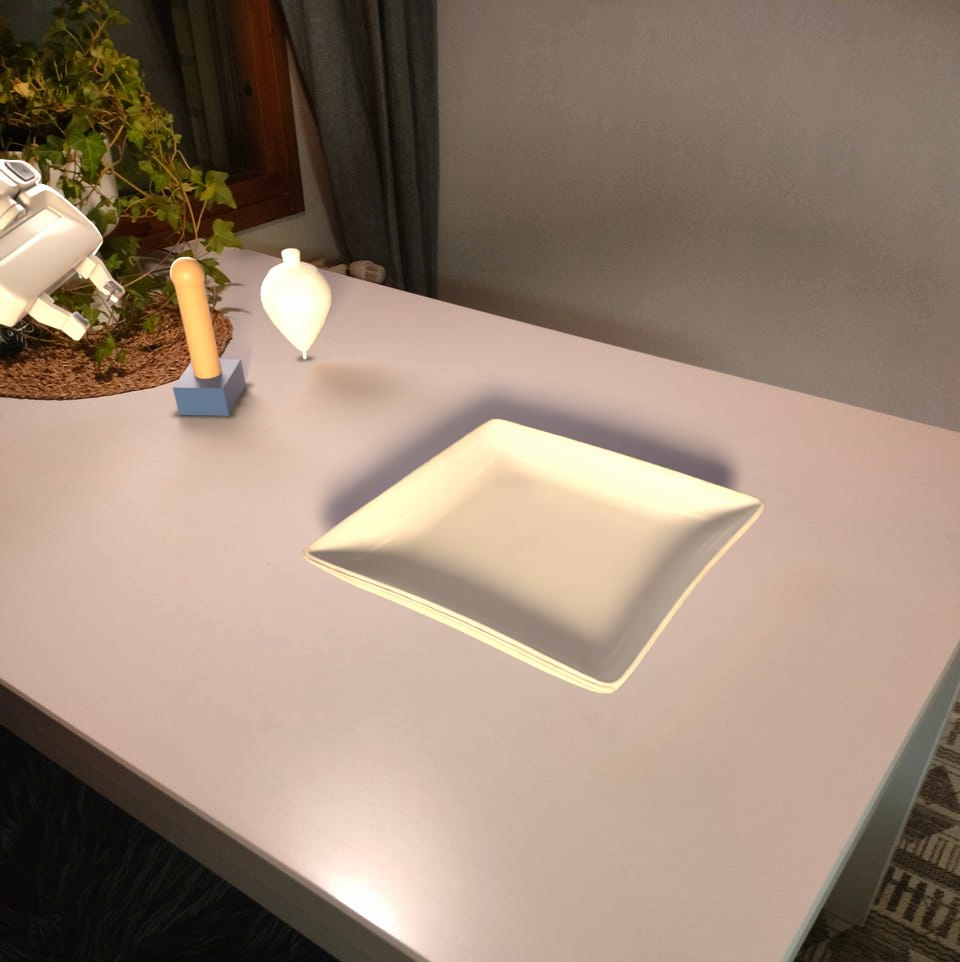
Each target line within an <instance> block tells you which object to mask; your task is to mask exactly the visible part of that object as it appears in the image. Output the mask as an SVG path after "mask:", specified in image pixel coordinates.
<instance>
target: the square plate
mask: <svg viewBox="0 0 960 962" xmlns="http://www.w3.org/2000/svg"><path fill="white" fill-rule="evenodd" d="M765 507H766V504H765V502H764V500H763V499H761V498H758V497H756V496H753V495H751V494H747V493H744V492H741V491H737V490H734V489H732V488H728V487H725V486H722V485H719V484H717V483H714V482H710V481H707V480H704V479H701V478H698V477H695V476H693V475H689V474H686V473H683V472H680V471H677V470H675V469H672V468H668V467H665V466H662V465H658V464H655V463H652V462H649V461H646V460H642V459H639V458H637V457H633V456H630V455H627V454H624V453H620V452H616V451H613V450H610V449H607V448H605V447H600V446H598V445H597V446H596V445H594V444H590V443H587V442H583V441H580V440H577V439H573V438H570V437H567V436H563V435H559V434H555V433H552V432H548V431H546V430H541V429H538V428H534V427H532V426H527V425H524V424H521V423H517V422H514V421H510V420H506V419H504V418H503V419H502V418H496V417H495V418H491V419H487V421H485V422H483V423H482V424H480V425H479V426H477V427H476V428H473V430H471V431H470V432H468V433H466V434H464V435H463V436H462V437H461V438H459V439H458V440H455V442H453V443H452V444H450V445H449V446H447V447H446V448H444V449H443V450H441V451H440V452H438V453H437V454H436V455H434V456H433V457H431V458H429V459H428V460H427V461H426V462H424V463H422V464H421V465H420V466H418V467H417V468H414V470H412V471H411V472H410V473H408V474H406V475H405V476H404V477H402V478H401V479H399V480H398V481H397V482H395V483H393V484H392V485H391V486H390V487H388V488H387V489H385V490H383V491H382V492H381V493H380V494H378V495H377V496H375V497H374V498H372V499H370V501H368V502H367V503H365V504H363V505H362V506H361V507H360V508H358V509H357V510H356V511H354V512H352V513H351V514H350V515H348V516H347V517H346V518H344V519H343V520H341V521H340V522H338V523H337V524H335V525H334V526H333V527H332V528H330V529H329V530H327V531H326V532H324V533H323V534H322V535H321V536H319V537H318V538H316V539H315V540H314V541H313V542H311V543H310V544H309V545H308V546H306V547H305V548H303V550H302V552H301V556H302V557H303V558H304V560H306V561H307V562H309V563H311V564H312V565H314V566H315V567H317V568H318V569H321V570H323V571H324V572H326V573H328V574H330V575H332V576H334V577H335V578H338V579H340V580H342V581H344V582H346V583H349V584H351V585H352V586H355V587H357V588H359V589H362V590H364V591H367V592H369V593H372V594H374V595H377V596H380V597H381V598H384V599H386V600H389V601H392V602H394V603H397V604H399V605H401V606H403V607H405V608H407V609H411V610H412V611H415V612H417V613H419V614H421V615H423V616H426V617H429V618H430V619H433V620H435V621H437V622H439V623H441V624H444V625H446V626H449V627H451V628H453V629H455V630H457V631H460V632H462V633H463V634H466V635H467V636H468V635H469V636H470V637H472V638H474V639H476V640H478V641H480V642H482V643H484V644H487V645H489V646H491V647H493V648H495V649H497V650H498V651H501V652H503V653H505V654H508V655H510V656H511V657H514V658H515V659H518V660H520V661H522V662H524V663H526V664H528V665H529V666H532V667H534V668H536V669H537V670H540V671H542V672H544V673H547V674H550V675H552V676H554V677H556V678H557V679H558V678H559V679H561V680H563V681H565V682H568V683H570V684H573V685H575V686H578V687H581V688H583V689H585V690H588V691H591V692H595V693H599V694H613V693H615V692H616V691H617V690H618V689H619V688H620V687H621V686H622V685H624V683H625V682H626V681H627V680H628V679H629V677H630V676H631V675H632V673H633V672H634V671H635V670H636V669H637V667H638V665H640V663H641V661H642V660H643V659H644V657H645V656H646V654H647V653H649V651H650V649H651V648H652V647H653V645H654V643H655V642H656V640H657V639H658V637H659V636H660V635H661V633H662V632H663V630H664V629H665V628H666V627H667V625H668V623H670V621H671V619H672V618H673V617H674V616H675V614H676V613H677V612H678V610H679V609H680V607H682V605H683V604H684V602H685V601H686V600H687V599H688V597H689V596H690V595H691V593H692V592H693V591H694V590H695V588H696V587H697V586H698V584H699V583H700V582H701V581H702V580H703V578H704V577H705V576H706V575H707V574H708V572H709V571H710V570H711V569H712V568H713V567H714V566H715V565H716V564H717V562H719V560H720V559H721V558H722V557H723V556H724V555H725V554H726V553H727V552H728V551H729V549H730V548H732V547H733V546H734V544H735V543H736V542H737V541H738V540H739V539H740V538H741V537H742V536H743V535H744V534H745V533H746V532H747V531H748V530H749V529H750V528H751V526H752V525H753V524H755V522H756V521H757V520H758V518H759V517H760V516H761V515H762V514H763V512H764V509H765Z"/></svg>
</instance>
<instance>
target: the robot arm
mask: <svg viewBox="0 0 960 962" xmlns="http://www.w3.org/2000/svg"><path fill="white" fill-rule="evenodd" d="M40 180H41V174H40V173H39V172H38V170H36V169H35V167H33V166H32V165H31V164H29V163H28V162H26V161H24V160H13V159H12V160H10V159H0V325H3V326H6V327H9V328H12V327H14V326H16V324H18V323H19V322H20V321H21V320H23V318H25V317H26V316H27V315H29V316H30V317H32V318H33V319H34V320H35V321H37V322H38V323H41V324H43V325H46V326H48V327H52V328H54V329H57V330H61V331H62V332H63V333H65V334H66V335H67V336H68V337H70V338H71V339H72V340H74V341H80V340H81V339H82V338H83V337H84V336H85V335H86V333H87V332H88V331H89V329H90V328H91V323H90V321H89V320H88V319H86V318H84V317H83V315H82V314H80V313H79V312H78V311H75V312H73V313H72V312H70V311H69V310H66V309H64V308H63V307H60V306H58V305H57V304H55V302H56V301H55V299H53V297H51V296H50V295H51V294H53V293H54V292H55V291H56V290H57V289H59V288H60V287H61V286H62V285H63V284H65V283H66V282H67V281H68V280H69V279H70V278H71V277H73V276H74V275H76V274H77V273H78V275H80V276H82V277H83V278H84V279H86V280H88V279H89V280H90V281H91V283H92V284H93V285H94V286H95V287H96V288H97V290H98V291H99V292H98V293H97V294H98V296H99V297H100V298H101V299H103V300H104V301H106V302H107V304H109V305H112V306H114V305H116V304H117V303H118V302H119V301H120V300H121V299H122V297H123V296H124V294H125V293H126V290H125V288H124V286H123V285H122V284H120V283H119V282H118V281H117V280H115V279H114V277H113V276H112V274H111V273H110V271H109V269H108V268H107V267H106V265H105V264H104V262H103V260H102V259H100V258H99V257H98V256H97V255H95V254H96V253H97V252H98V250H99V249H100V247H101V245H102V244H103V242H104V239H103V236H102V235H101V233H100V231H99V230H98V228H97V227H96V226H95V224H94V223H93V222H92V221H90V219H88V218H87V217H86V216H85V215H84V214H83V213H82V212H81V211H80V210H79V209H78V208H77V207H75V206H74V205H73V204H72V203H71V202H70V201H68V199H66V198H65V197H64V196H63V195H61V194H60V193H59V192H58V191H56V190H55V189H53V188H52V187H51V186H48V185H46V184H43V183H39V181H40Z"/></svg>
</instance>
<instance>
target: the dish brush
mask: <svg viewBox="0 0 960 962" xmlns="http://www.w3.org/2000/svg"><path fill="white" fill-rule="evenodd" d="M169 277H170V279H171V280H170V281H171V282H172V283H173V285H174V289H175V294H176V299H177V303H178V307H179V308H178V309H179V312H180V317H181V321H182V326H183V330H184V334H185V335H184V336H185V339H186V344H187V349H188V353H189V359H190V362H189V364H188V366H187V367H186V369H185V370H184V372H183V373H182V374H181V376H180V377H179V379H178V380H177V381H176V383H175V384H174V386H173V387H172V389H173V390H172V391H173V394H174V398H175V403H176V406H177V407H176V408H177V410H178V415H179V416H214V417H215V416H217V417H219V416H222V417H223V416H224V417H229V416H230V414H231V413H232V411H233V409H234V408H235V405H236V404H237V403H238V401H239V399H240V397H241V395H242V393H243V391H244V390H245V388H246V386H247V384H246V379H245V374H244V367H243V362H242V359H241V358H237V359H236V358H220V356H219V351H218V346H217V341H216V336H215V335H216V334H215V331H214V325H213V321H212V315H211V310H210V305H209V300H208V295H207V291H206V284H205V279H206V274H205V270H204V268H203V266H202V265H201V263H199V261H197V259H195V258H192V257H190V256H182V257H179V258H177V259H176V260H174V261H173V263H172V264H171V266H170V270H169Z"/></svg>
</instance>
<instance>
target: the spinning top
mask: <svg viewBox="0 0 960 962" xmlns="http://www.w3.org/2000/svg"><path fill="white" fill-rule="evenodd" d="M281 257H282V260H283V262H281V263H279V264H277V265H275V266H273V267H272V268H271V269H269V271H268V273H267V275H266V276H265V278H264V279H263V282H262V285H261V288H260V299H261V300H260V301H261V304H262V307H263V309H264V311H265V313H266V314H267V316H268V318H269V319H270V321H271V322H272V323H273V325H274V326H275V327H276V328H277V329H278V331H279V332H280V333H281V334H282V335H283V336H284V337H285V338H286V339H287V340H288V342H290V343H291V344H292V345H293V346H294V347H295V348H296V349H297V350H299V351H300V352H302V359H303V360H306V359H307V351H309V350H310V348H311V347H312V345H313V344H314V342H315V341H316V339H317V338H318V335H319V334H320V332H321V330H322V328H323V326H324V325H325V323H326V320H327V317H328V315H329V312H330V309H331V306H332V301H333V295H332V294H333V293H332V288H331V285H330V283H329V281H328V279H327V278H326V277H325V275H324V274H323V273H322V272H321V271H320V269H319V270H318V268H317V266H315V265H313V264H311V263H308V262H304V261H301V251H300V250H299V249H297V248H294V247H293V248H285V249H283V250H282V251H281Z"/></svg>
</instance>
